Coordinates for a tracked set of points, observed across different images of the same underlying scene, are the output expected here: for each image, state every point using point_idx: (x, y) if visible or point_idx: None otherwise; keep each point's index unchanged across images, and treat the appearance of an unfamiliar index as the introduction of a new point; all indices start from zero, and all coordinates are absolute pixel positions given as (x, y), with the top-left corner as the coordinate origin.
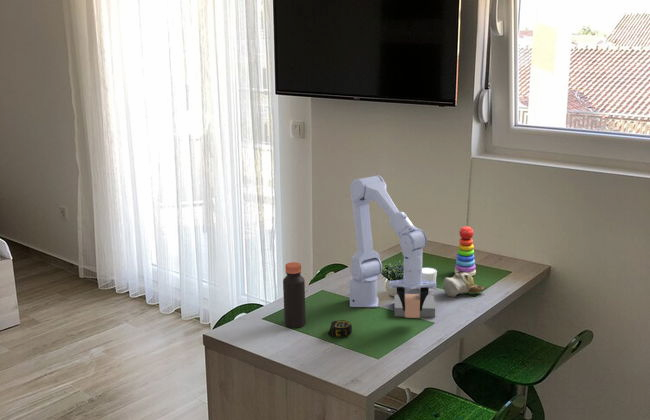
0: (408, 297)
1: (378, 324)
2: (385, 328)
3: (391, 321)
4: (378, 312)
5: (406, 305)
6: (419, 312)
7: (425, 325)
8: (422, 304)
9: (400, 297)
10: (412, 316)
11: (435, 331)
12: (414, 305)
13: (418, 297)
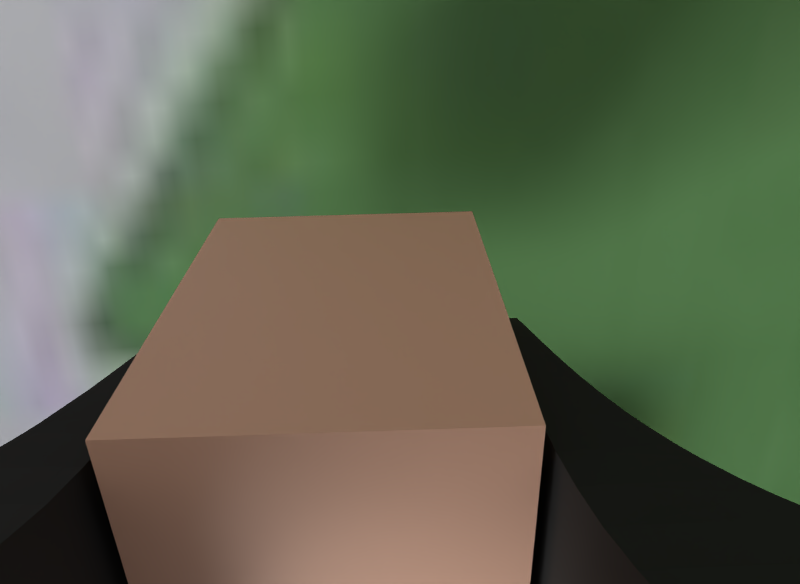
0: (439, 549)
1: (791, 235)
2: (723, 120)
3: (610, 329)
4: None
5: (477, 326)
6: (198, 260)
7: (182, 254)
8: (90, 393)
9: (709, 481)
10: (341, 224)
11: (10, 75)
12: (279, 332)
13: (157, 568)
